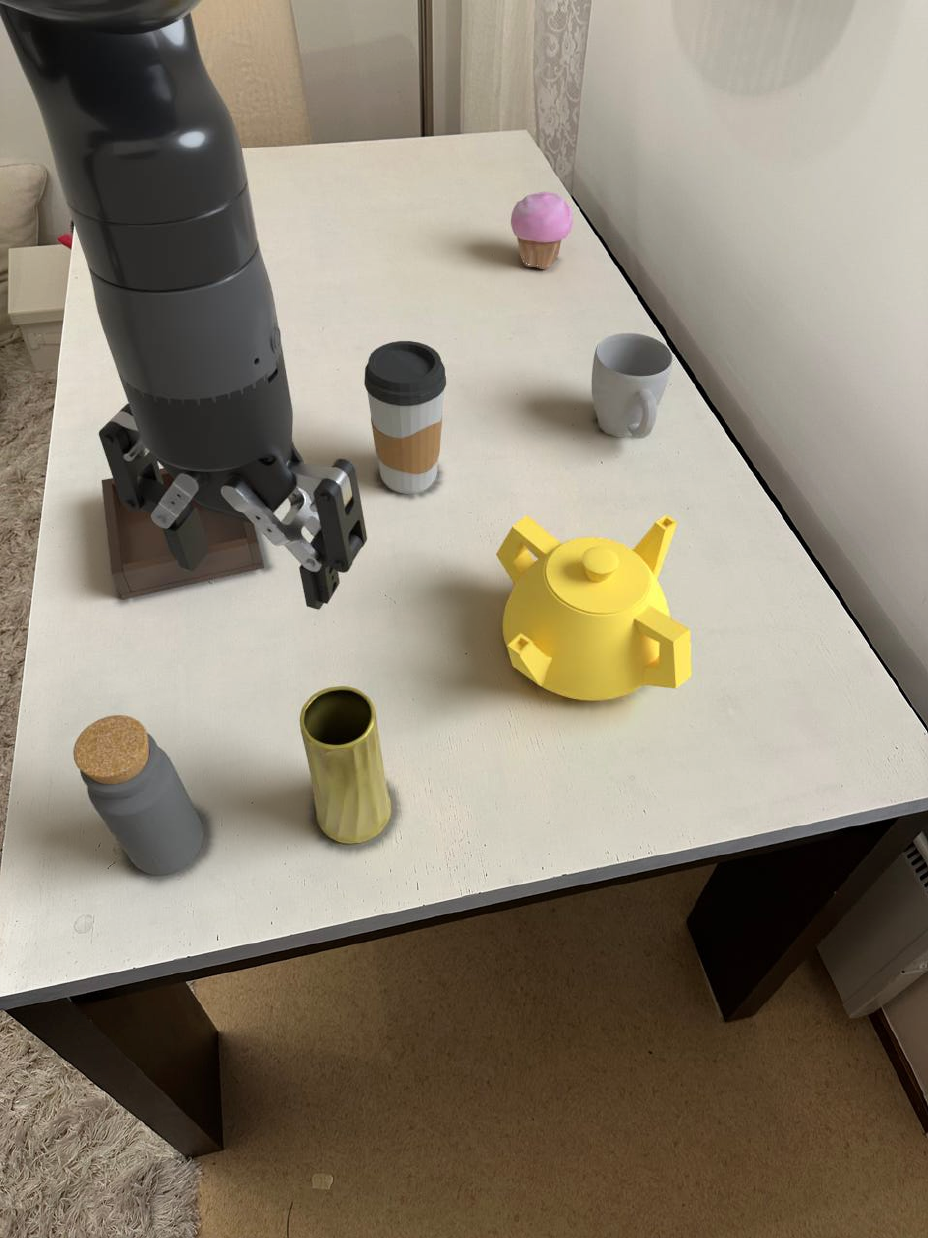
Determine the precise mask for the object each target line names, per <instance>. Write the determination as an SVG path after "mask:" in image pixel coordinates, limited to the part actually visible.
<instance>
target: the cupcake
mask: <svg viewBox="0 0 928 1238" xmlns="http://www.w3.org/2000/svg"><path fill="white" fill-rule="evenodd" d="M573 220H574V215H573V212H572V208H571V207H570V205H569V203H567V202H566V201H565V200H564V198H563V197H562V195H560V194H559V193H556V192H551V191H539V192H535V193H532V194H528V195H526V196H525V197H524V198H523V199H521V200H519V201H517V202H516V204H515V205H514V207H513V209H512V211H511V216H510V226H511V229H512V232H513V235H514V236H515V237H516V240H517V243H518V251H519V252H518V253H519V256H520V259H521V261H522V263H523V265H524V266H526V267H527V268H537V269H541V270H549V269H550V267H552V266H553V264H554V262H555V261H556V260H557V258H558V256H559V253H560V249H561V242H562V240H563V239H566V238H567V237H568V236H569V234H570V233H571V232H572V228H573V222H574V221H573ZM557 255H558V256H557ZM556 257H557V258H556ZM555 258H556V259H555ZM523 261H524V262H523ZM553 261H554V262H553ZM526 263H527V264H526ZM528 264H530V265H528ZM537 265H538V266H537ZM548 265H549V266H548Z"/></svg>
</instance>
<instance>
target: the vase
mask: <svg viewBox="0 0 928 1238" xmlns="http://www.w3.org/2000/svg"><path fill="white" fill-rule="evenodd" d="M377 721H378V720H377V711H376V708H375V705H374V704H373V701H372V700H371V698H370V697H369V696H368V695H367V694H365V693H364V692H363V691H361V690H360V689H358V688H356V687H352V686H346V685H340V686H339V685H338V686H330V687H326V688H323V689H321V690H318V691H317V692H315V693H314V694H312V695H311V696H310V697H309V698H308V700H307V701H306V702H305V703H304V705H303V706H302V708H301V710H300V714H299V727H300V734H301V738H302V742H303V746H304V750H305V754H306V755H305V756H306V759H307V765H308V769H309V774H310V780H311V785H312V792H313V797H314V798H313V799H314V805H315V811H316V820H317V823H318V825H319V827H320V829H321V830H322V832H323V833H324V834H325V835H326V836H327V837H329V838H330V839H332V840H333V841H336V842H338V843H341V844H348V845H349V844H358V843H359V844H361V843H365V842H368V841H370V840H372V839H373V838H375V837H376V836H377V835H379V834H380V833H381V832H382V831H383V830H384V828H385V827H386V826H387V824H388V822H389V820H390V817H391V813H392V801H391V798H390V795H389V792H388V785H387V779H386V775H385V767H384V760H383V755H382V748H381V741H380V736H379V729H378V722H377Z"/></svg>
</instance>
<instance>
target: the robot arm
mask: <svg viewBox="0 0 928 1238" xmlns="http://www.w3.org/2000/svg"><path fill="white" fill-rule="evenodd" d="M202 1H203V0H0V19H1V22H2V24H3V26H4V28H5V32H6V34H7V36H8V38H9V41H10V43H11V45H12V48H13V50H14V53H15V55H16V57H17V60H18V62H19V64H20V66H21V69H22V71H23V74H24V77H25V78H26V80H27V83H28V85H29V87H30V90H31V92H32V94H33V96H34V99H35V101H36V104H37V107H38V109H39V112H40V116H41V118H42V121H43V124H44V128H45V132H46V135H47V139H48V143H49V146H50V149H51V154H52V157H53V162H54V165H55V170H56V174H57V178H58V181H59V184H60V187H61V191H62V195H63V197H64V199H65V202H66V205H67V208H68V212H69V214H70V217H71V220H72V223H73V226H74V228H75V231H76V234H77V237H78V240H79V243H80V246H81V248H82V252H83V255H84V258H85V260H86V265H87V268H88V272H89V275H90V280H91V284H92V290H93V296H94V302H95V306H96V311H97V314H98V317H99V321H100V324H101V327H102V330H103V333H104V336H105V339H106V342H107V345H108V348H109V350H110V353H111V357H112V359H113V361H114V364H115V367H116V370H117V374H118V377H119V379H120V382H121V386H122V388H123V391H124V393H125V398H126V399H127V403H126V404H125V405H124V406H123V407H122V408H121V409H120V410H119V411H118V412H117V413H116V414H115V415H114V416H113V417H112V418H110V420H109V421H108V422H106V424H105V425H103V427H102V428H101V429H100V430H98V437H99V441H100V443H101V446H102V449H103V452H104V455H105V458H106V460H107V463H108V464H107V465H108V467H109V469H110V473H111V476H112V478H113V479H114V482H115V485H116V488H117V491H118V494H119V497H120V500H121V503H122V504H123V505H124V507H125V508H127V509H128V510H130V511H132V512H139V511H140V510H141V509H143V510H145V511H147V512H149V513H151V518H152V520H153V521H154V523H155V524H157V525H158V526H160V527H162V530H163V532H164V535H165V538H166V540H167V543H168V546H169V549H170V552H171V553H172V555H173V556H174V557H175V558H176V559H177V561H178V564H179V566H180V568H182V569H185V570H189V571H194V570H195V569H196V568H197V566H198V565H199V564H200V562H201V561H202V560H203V558H204V557H205V556H206V554H207V552H208V543H207V539H206V536H205V533H204V530H203V526H202V523H201V520H200V517H199V513H198V510H197V507H195V506H192V505H188V504H189V503H190V502H191V500H192V499H194V500H195V501H196V502H198V503H199V504H201V505H203V506H204V509H205V511H209V512H212V513H216V514H226V515H231V516H233V517H235V518H237V519H239V520H241V521H244V522H247V523H251V524H254V526H255V528H257V530H259V531H260V533H262V534H263V536H264V537H265V538H266V539H267V540H268V541H269V542H270V543H271V544H272V545H273V546H275V547H280V546H282V547H283V546H284V547H285V549H287V550H288V552H289V553H290V554H291V555H292V557H294V558H295V559H296V560H297V561H298V562H299V564H300V565H299V567H298V568H299V573H300V580H301V585H302V589H303V594H304V600H305V605H306V607H308V608H311V609H315V610H317V611H319V610H321V608H322V607H323V606H324V604H325V605H328V604H329V602H330V601H331V599H332V597H333V595H334V594H335V592H336V590H337V589H338V587H339V585H340V582H341V581H340V576H339V575H340V574H339V573H342V574H343V573H344V574H345V573H348V572H349V571H350V569H351V567H352V565H353V564H354V563H353V562H354V560H355V559H356V557H357V556H358V554H359V552H360V551H361V549H362V548H363V547H364V546H365V544H366V542H367V540H368V534H367V529H366V522H365V517H364V512H363V511H364V510H363V506H362V505H363V504H362V500H361V494H360V488H359V481H358V477H357V476H358V475H357V471H356V467H355V466H354V464H353V463H352V462H351V461H349V459H348V460H347V459H345V458H337V459H336V460H334V462H333V464H332V465H331V466H330V467H326V466H321V465H316V464H312V463H307V462H305V461H304V459H303V457H302V455H301V454H300V452H299V451H298V449H297V448H296V445H295V444H294V441H293V427H294V426H293V424H294V423H293V421H294V420H293V419H294V412H293V404H292V398H291V393H290V392H291V391H290V387H289V381H288V374H287V369H286V362H285V357H284V350H283V344H282V335H281V328H280V327H279V321H278V315H277V308H276V302H275V299H274V292H273V288H272V283H271V280H270V277H269V273H268V271H267V267H266V264H265V261H264V258H263V254H262V251H261V247H260V242H259V239H258V232H257V226H256V221H255V215H254V214H255V213H254V208H253V202H252V198H251V197H252V196H251V191H250V185H249V184H250V183H249V180H248V179H249V178H248V173H247V167H246V162H245V159H244V153H243V149H242V144H241V141H240V137H239V134H238V131H237V128H236V125H235V122H234V119H233V116H232V114H231V112H230V110H229V108H228V106H227V103H226V102H225V101H224V99H223V97H222V96H221V94H220V92H219V90H218V89H217V87H216V86H215V84H214V82H213V80H212V78H211V77H210V75H209V73H208V70H207V68H206V66H205V63H204V61H203V57H202V54H201V51H200V48H199V44H198V40H197V34H196V30H195V26H194V22H193V21H194V20H193V17H192V11H193V10H195V8H197V7H198V5H199V4H200V3H201V2H202ZM159 464H160V466H162V468H164V469H165V470H166V471H167V472H168V473H169V474H170V475H171V476H172V477H173V478H174V479H175V481H174V482H173V484H172V485H171V487H170V488H169V487H167V486H166V485H164V484H163V480H162V476H161V473H160V469H161V468H160V466H159ZM138 476H139V478H138ZM287 499H288V501H289V504H290V507H289V510H288V512H287V513H286V514H285V515H284V517H283V518H282V520H281V519H280V518H278V516H277V515H276V514H275V513H276V511H277V510H278V509H279V508H280V507H281V506H282V505H283V504H284V503H285V501H286V500H287ZM304 527H305V530H307V531H308V532H309V533H310V534H311V535H312V537H313V538H312V539H311V541H310V542H309V540H307V539H306V537H305V536H304V535H303V532H302V530H303V528H304Z"/></svg>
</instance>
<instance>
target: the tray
mask: <svg viewBox="0 0 928 1238" xmlns="http://www.w3.org/2000/svg"><path fill="white" fill-rule="evenodd" d="M159 469H160V473H161V476H162V480H163V484H164V485H166V486H167V487H169V488H170V487H171V485H172V484H173V482H174V481H175V479H174V478H173V477H172V476H171V475H170V474H169V473H168V472H167V471H166V470H165V469H164V467H161V468H159ZM138 478H139V476H138ZM101 489H102V498H103V499H102V500H103V508H104V509H103V510H104V517H105V518H104V519H105V526H106V527H105V528H106V535H107V544H108V545H107V546H108V554H109V562H110V563H109V564H110V573H111V576H112V579H113V581H114V583H115V585H116V587H117V589H118V592H119V594H120V596H121V598H122V600H128V599H132V598H138V597H141V596H145V595H150V594H155V593H159V592H163V591H168V590H174V589H177V588H181V587H185V586H191V585H195V584H199V583H204V582H208V581H212V580H217V579H221V578H226V577H230V576H235V575H239V574H244V573H249V572H252V571H257V570H262V569H265V563H264V558H263V555H262V551H261V545H260V542H259V538H258V535H257V534H258V533H257V530H256V526H255V525H254V524H251V523H247V522H244V521H241V520H239V519H237V518H235V517H233V516H231V515H226V514H216V513H212V512H209V511H205V509H204V506H203V505H201V504H199V503H198V502H196V501H195V500H194V499H192V500H191V502H190V503H189V504H188V505H192V506H195V507H197V510H198V513H199V517H200V520H201V523H202V526H203V530H204V533H205V536H206V539H207V543H208V552H207V554H206V556H205V557H204V558H203V560H202V561H201V562H200V564H199V565H198V566H197V568H196V569H195V570H194V571H189V570H185V569H182V568H180V566H179V564H178V561H177V559H176V558H175V557H174V556H173V555H172V553H171V552H170V549H169V546H168V543H167V540H166V538H165V535H164V532H163V530H162V527H160V526H158V525H157V524H155V523H154V521H153V520H152V518H151V513H149V512H147V511H145V510H143V509H141V510H140V511H139V512H132V511H130V510H128V509H127V508H125V507H124V505H123V504H122V503H121V500H120V497H119V494H118V491H117V488H116V485H115V482H114V479H113V477H111V478H110V477H109V478H105V479H101Z"/></svg>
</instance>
